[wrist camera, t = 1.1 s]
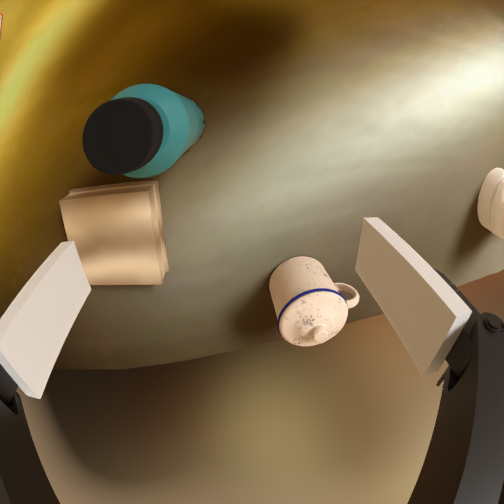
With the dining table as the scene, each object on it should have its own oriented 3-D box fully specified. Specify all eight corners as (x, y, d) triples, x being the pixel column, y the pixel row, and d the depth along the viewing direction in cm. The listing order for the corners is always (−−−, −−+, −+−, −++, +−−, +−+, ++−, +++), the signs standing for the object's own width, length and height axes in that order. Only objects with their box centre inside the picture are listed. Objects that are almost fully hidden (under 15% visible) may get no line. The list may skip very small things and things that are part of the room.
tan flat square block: (71, 189, 30) (56, 198, 26) (158, 179, 31) (150, 188, 28) (90, 271, 36) (80, 286, 32) (169, 269, 37) (164, 286, 34)
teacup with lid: (268, 308, 42) (282, 367, 32) (265, 257, 38) (282, 313, 28) (340, 297, 43) (369, 348, 33) (347, 247, 39) (385, 295, 28)
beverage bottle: (211, 142, 30) (198, 183, 12) (157, 156, 30) (80, 217, 12) (200, 89, 27) (169, 51, 9) (145, 105, 27) (48, 103, 9)
